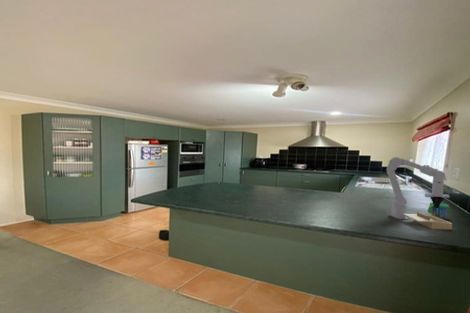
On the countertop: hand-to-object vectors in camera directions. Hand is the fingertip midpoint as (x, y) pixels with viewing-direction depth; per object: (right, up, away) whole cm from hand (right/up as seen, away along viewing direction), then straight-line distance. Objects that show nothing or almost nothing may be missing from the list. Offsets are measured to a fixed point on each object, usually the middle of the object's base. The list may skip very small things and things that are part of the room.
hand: (436, 207), depth 158 cm
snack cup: (+13, -10, +13) cm, 21 cm away
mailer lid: (-15, -6, -4) cm, 16 cm away
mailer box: (-7, -11, -4) cm, 13 cm away
